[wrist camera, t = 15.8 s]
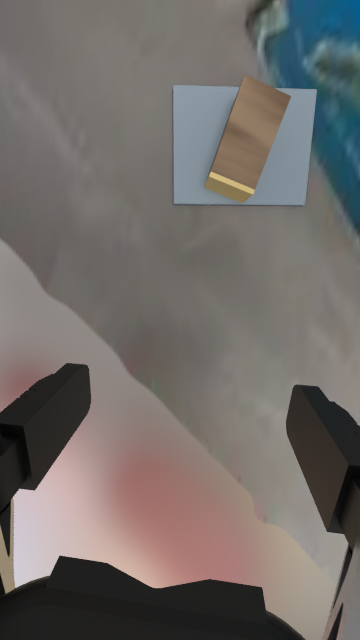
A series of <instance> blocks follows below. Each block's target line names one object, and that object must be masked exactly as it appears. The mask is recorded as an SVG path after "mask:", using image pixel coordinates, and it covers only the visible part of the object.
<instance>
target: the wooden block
mask: <svg viewBox="0 0 360 640" xmlns="http://www.w3.org/2000/svg"><path fill="white" fill-rule="evenodd" d="M290 98H291V96H290V95H288V94H286V93H284V92H281V91H279V90H277V89H275V88H273V87H271V86H269V85H267V84H264V83H262V82H260V81H258V80H256V79H254V78H252V77H250V76H248V75H244V78H243V80H242V83H241V85H240V88H239V90H238V93H237V95H236V98H235V100H234V103H233V106H232V109H231V112H230V115H229V117H228V120H227V123H226V126H225V129H224V132H223V135H222V137H221V140H220V143H219V146H218V149H217V152H216V155H215V157H214V160H213V163H212V166H211V169H210V172H209V175H208V178H207V180H206V183H205V186H204V188H206V189H208V190H211V191H213V192H216V193H218V194H221V195H223V196H226V197H228V198H230V199H233V200H235V201H238V202H240V203H244V202H245V201H246V200H247V199H248V198H250V197H251V196H252V195H253V194H254V191H255V188H256V186H257V183H258V181H259V178H260V176H261V173H262V170H263V168H264V165H265V163H266V160H267V158H268V155H269V152H270V150H271V147H272V145H273V142H274V140H275V137H276V134H277V132H278V129H279V127H280V124H281V122H282V119H283V116H284V114H285V111H286V109H287V106H288V104H289V101H290Z"/></svg>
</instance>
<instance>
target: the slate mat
mask: <svg viewBox="0 0 360 640" xmlns="http://www.w3.org/2000/svg"><path fill="white" fill-rule="evenodd" d="M239 88H240V87H218V86H185V85H173V149H174V205H246V206H304V205H305V200H306V190H307V180H308V170H309V161H310V151H311V141H312V132H313V122H314V112H315V102H316V93H317V89H286V88H275V89H277V90H279V91H281V92H284V93H286V94H288V95H290V96H291V98H290V101H289V104H288V106H287V109H286V111H285V114H284V116H283V119H282V122H281V124H280V127H279V129H278V132H277V134H276V137H275V140H274V142H273V145H272V147H271V150H270V152H269V155H268V158H267V160H266V163H265V165H264V168H263V170H262V173H261V176H260V178H259V181H258V183H257V186H256V188H255V191H254V194H253V195H252V196H251V197H250V198H248V199H247V200H246V201H245V202H244V203H240V202H238V201H235V200H233V199H230V198H228V197H226V196H223V195H221V194H218V193H216V192H213V191H211V190H208V189H206V188H204V186H205V183H206V180H207V178H208V175H209V172H210V169H211V166H212V163H213V160H214V157H215V155H216V152H217V149H218V146H219V143H220V140H221V137H222V135H223V132H224V129H225V126H226V123H227V120H228V117H229V115H230V112H231V109H232V106H233V103H234V100H235V98H236V95H237V93H238V90H239Z"/></svg>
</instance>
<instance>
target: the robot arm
mask: <svg viewBox="0 0 360 640" xmlns="http://www.w3.org/2000/svg"><path fill="white" fill-rule="evenodd" d="M90 404H91V393H90V378H89V368H88V366H87V365H83V364H72V363H67V364H65V365H64V366H63V367H62V368H60V370H58V371H57V372H56V373H55V374H51V375H49V376H47V377H45V378H43V379H41V380H39V381H38V382H36V383H35V384H34V385H33V386H31V387H30V388H29V390H28V391H25V392H24V393H23V394H22V395H21V396H20V398H17V399H16V400H15V401H14V402H13V403H11V404H10V405H9V406H7V407H6V408H5V409H4V410H3V411H1V412H0V640H305V639H304V638H303V637H302V635H300V634H299V633H298V632H297V631H295V630H294V629H293V628H292V627H291V626H290V625H289V624H287V623H286V622H284V621H283V620H282V619H280V618H279V617H277V616H276V615H274V614H272V613H271V612H269V611H267V610H266V609H265V603H264V596H263V590H262V587H256V586H250V585H243V584H237V583H231V582H224V581H218V580H211V579H208V580H203V581H197V582H192V583H187V584H182V585H176V586H170V587H165V588H152V587H150V586H148V585H146V584H144V583H142V582H141V581H139V580H137V579H135V578H133V577H131V576H129V575H128V574H126V573H124V572H122V571H120V570H119V569H117V568H115V567H113V566H111V565H109V564H108V563H103V562H97V561H90V560H84V559H78V558H71V557H65V556H59V558H58V560H57V562H56V564H55V566H54V569H53V571H52V573H51V575H50V576H46V577H43V578H39V579H36V580H33V581H30V582H28V583H26V584H23V585H21V586H19V587H17V588H15V582H14V569H13V546H14V543H13V540H14V538H13V537H14V502H13V496H14V495H15V494H16V492H17V491H18V490H19V488H20V489H27V490H35V489H36V488H37V486H38V485H39V484H40V482H41V481H42V479H43V478H44V476H45V475H46V473H47V472H48V470H49V469H50V467H51V466H52V464H53V463H54V462H55V460H56V459H57V457H58V456H59V454H60V453H61V451H62V450H63V449H64V447H65V446H66V444H67V443H68V441H69V440H70V438H71V437H72V435H73V434H74V433H75V431H76V430H77V428H78V427H79V425H80V424H81V422H82V421H83V419H84V418H85V416H86V415H87V413H88V411H89V408H90ZM286 430H287V435H288V438H289V441H290V443H291V446H292V448H293V450H294V453H295V455H296V458H297V460H298V463H299V465H300V467H301V470H302V472H303V475H304V477H305V479H306V482H307V484H308V487H309V489H310V492H311V494H312V496H313V499H314V501H315V504H316V506H317V509H318V511H319V513H320V516H321V518H322V521H323V523H324V525H325V528H326V530H327V532H332V533H340V534H344V535H345V537H346V539H347V541H348V543H349V544H348V546H347V549H346V552H345V556H344V560H343V564H342V567H341V571H340V575H339V579H338V583H337V587H336V590H335V594H334V598H333V602H332V606H331V610H330V614H329V617H328V621H327V624H326V628H325V631H324V634H323V637H322V640H360V426H359V425H357V423H356V421H355V420H354V419H353V418H352V417H351V415H350V414H349V413H348V412H347V411H346V410H345V409H343V408H342V407H340V406H339V405H338V404H336V403H335V402H331V401H329V400H328V399H327V397H326V396H325V395H324V393H323V392H322V391H321V389H320V388H319V387H317V386H307V385H295V386H294V387H293V391H292V395H291V400H290V405H289V410H288V414H287V419H286Z"/></svg>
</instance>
